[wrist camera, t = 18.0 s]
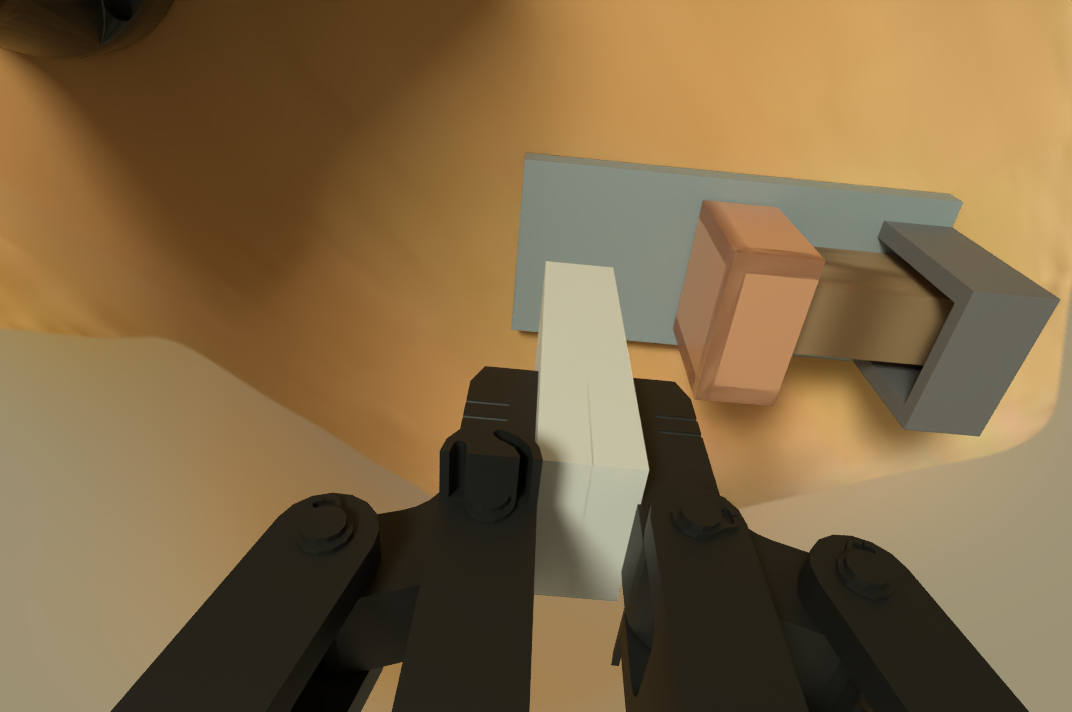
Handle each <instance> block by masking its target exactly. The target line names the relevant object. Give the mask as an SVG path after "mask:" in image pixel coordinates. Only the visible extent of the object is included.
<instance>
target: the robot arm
mask: <svg viewBox="0 0 1072 712" xmlns="http://www.w3.org/2000/svg"><path fill="white" fill-rule="evenodd" d="M172 2H173V0H0V48H4V49H8V50H11V51H15V52H18V53H22V54H26V55H31V56H37V57H44V58H60V59H67V58H80V57H86V56H92V55H97V54H102V53H107V52H112V51H116V50H119V49H122V48H124V47H127V46H129V45H131V44H133V43H135V42H137V41H138V40H140V39H141V38H143V37H144V36H146V35H147V34H148V33H149V32H150V31H151V30H153V29H154V28H155V27H156V25H157V24H158V23H159V22H160V21H161V20H162V18H163V17H164V16H165V14H166V13H167V11H168V10H169V8H170V6H171V4H172ZM621 583H622V586H623V595H624V605H625V608H624V612H623V616H622V619H621V623H620V627H619V631H618V635H617V639H616V643H615V647H614V651H613V658H612V664H611V665H615V666H619V663H620V659H621V660H622V671H623V682H624V694H625V706H626V712H1029V711H1028V710H1027V709H1026V708H1025V706H1024V705H1023V704H1022V703H1021V702H1020V700H1019V699H1018V698H1017V697H1016V696H1015V695H1014V694H1013V692H1012V691H1011V690H1010V689H1009V687H1008V686H1007V685H1006V684H1005V683H1004V682H1003V681H1002V679H1001V678H1000V677H999V676H998V675H997V673H996V672H995V671H994V670H993V669H992V668H991V666H990V665H989V664H988V663H987V662H986V660H985V659H984V658H983V657H982V656H981V654H980V653H979V652H978V651H977V650H976V649H975V647H974V646H973V645H972V644H971V643H970V642H969V640H968V639H967V638H966V637H965V636H964V635H963V633H962V632H961V631H960V630H959V629H958V627H956V625H955V624H954V623H953V621H952V620H951V619H950V618H949V617H948V616H947V615H946V613H945V612H944V611H943V610H942V609H941V607H940V606H939V605H938V604H937V603H936V601H935V600H934V599H933V598H932V597H931V596H930V594H929V593H928V592H927V591H926V590H925V588H924V587H923V586H922V585H921V584H920V583H919V581H918V580H917V579H916V578H915V577H914V576H913V574H912V573H911V572H910V571H909V570H908V569H907V568H906V567H905V566H904V565H903V564H902V563H901V562H900V561H899V560H898V559H897V558H895V557H894V556H893V555H892V554H891V553H889V552H887V551H886V550H884V549H882V548H881V547H879V546H877V545H875V544H874V543H872V542H869V541H866V540H863V539H860V538H856V537H854V536H845V535H831V536H828V537H825V538H822V539H819V540H818V541H817V542H816V544H815V545H814V546H813V547H812V549H811V550H810V552H809V553H808V552H805V551H802V550H799V549H796V548H793V547H790V546H787V545H784V544H781V543H778V542H775V541H772V540H770V539H768V538H765V537H763V536H761V535H758V534H756V533H755V532H753V531H751V530H750V529H748V526H747V524H746V522H745V520H744V519H743V517H742V515H741V513H740V512H739V510H738V509H737V508H736V507H735V506H733V505H732V504H731V503H730V502H729V501H728V500H727V499H725V498H724V497H722V496H720V494H719V491H718V488H717V484H716V481H715V478H714V475H713V471H712V468H711V465H710V461H709V458H708V455H707V451H706V448H705V445H704V441H703V438H701V432H700V428H699V425H698V422H696V415H695V412H694V408H693V405H692V402H691V399H690V398H689V397H688V396H687V395H686V394H685V392H684V391H683V390H682V389H681V388H680V387H679V386H678V385H677V384H676V383H675V382H671V381H660V380H650V379H639V378H633V376H632V370H631V365H630V359H629V353H628V348H627V342H626V337H625V331H624V325H623V320H622V314H621V308H620V303H619V297H618V292H617V286H616V280H615V275H614V269H613V267H602V266H592V265H581V264H571V263H560V262H550V261H546V264H545V274H544V283H543V293H542V303H541V312H540V322H539V331H538V341H537V351H536V360H535V371H531V370H520V369H509V368H498V367H487V366H485V367H484V368H483V369H482V370H481V371H480V372H479V373H478V374H477V375H476V376H475V377H474V378H473V379H472V380H471V381H470V386H469V391H468V395H467V401H466V405H465V409H464V414H463V419H462V423H461V428H460V430H458V431H457V432H455V433H454V434H452V435H451V436H450V437H448V438H447V439H446V441H445V443H444V444H443V446H442V448H441V450H440V486H439V493H438V494H437V495H436V496H434V497H433V498H432V499H431V500H429V501H427V502H425V503H423V504H420V505H419V506H416V507H412V508H409V509H405V510H401V511H395V512H388V513H383V514H376V512H375V511H374V510H373V509H372V507H371V506H370V505H369V504H368V503H367V502H365V501H363V500H361V499H359V498H357V497H355V496H353V495H346V494H338V493H329V494H322V495H316V496H311V497H309V498H307V499H305V500H302V501H300V502H298V503H296V504H293V505H292V506H291V507H290V508H288V509H287V510H286V511H285V512H284V513H283V514H281V515H280V516H279V517H278V518H277V519H276V520H275V521H274V522H273V524H272V525H271V526H270V527H269V528H268V529H267V531H266V532H265V533H264V534H263V535H262V536H261V538H260V539H259V540H258V541H257V542H256V544H254V546H253V547H252V548H251V549H250V550H249V552H248V553H247V554H246V555H245V556H244V557H243V558H242V560H241V561H240V562H239V563H238V564H237V565H236V567H235V568H234V569H233V570H232V571H231V572H230V574H229V575H228V576H227V577H226V578H225V579H224V581H223V582H222V583H221V584H220V585H219V586H218V588H217V589H216V590H215V591H214V592H213V593H212V595H211V596H210V597H209V598H208V599H207V600H206V601H205V603H204V604H203V605H202V606H201V607H200V608H199V610H198V611H197V612H196V613H195V614H194V615H193V616H192V618H191V619H190V620H189V621H188V622H187V623H186V625H185V626H184V627H183V628H182V629H181V630H180V632H179V633H178V634H177V635H176V636H175V638H174V639H173V640H172V641H171V642H170V643H169V644H168V645H167V647H166V648H165V649H164V650H163V651H162V653H161V654H160V655H159V656H158V657H157V658H156V659H155V661H154V662H153V663H152V664H151V665H150V666H149V668H148V669H147V670H146V671H145V672H144V673H143V675H142V676H141V677H140V678H139V679H138V680H137V681H136V683H135V684H134V685H133V686H132V687H131V688H130V690H129V691H128V692H127V693H126V694H125V696H124V697H123V698H122V699H121V700H120V701H119V702H118V704H117V705H116V706H115V707H114V708H113V709H112V711H111V712H361V710H362V708H363V706H364V704H365V703H366V701H367V699H368V697H369V695H370V693H371V691H372V689H373V687H374V685H375V683H376V681H377V679H378V677H379V675H380V674H381V672H382V669H383V666H387V665H392V664H396V663H400V662H403V664H402V668H401V673H400V677H399V682H398V686H397V691H396V695H395V700H394V704H393V708H392V712H529V706H530V679H531V654H532V653H531V652H532V627H533V601H534V594H536V595H547V596H560V597H571V598H583V599H594V600H607V601H617V599H618V595H619V591H620V587H621Z"/></svg>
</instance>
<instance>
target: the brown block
mask: <svg viewBox="0 0 1072 712" xmlns="http://www.w3.org/2000/svg"><path fill="white" fill-rule="evenodd" d="M814 248H815V249H816V250H817V251H818V253H819V254H820V255H821V256H822V257H823V258H824V259H825V260H826V262H825V265H824V267H823V270H822V273H821V276H820V278H819V281H818V284H817V287H816V290H815V292H814V295H813V298H812V301H811V304H810V306H809V309H808V312H807V315H806V318H805V320H804V323H803V326H802V329H801V332H800V334H799V337H798V340H797V343H796V346H795V348H794V351H793V354H804V355H815V356H826V357H837V358H848V359H859V360H870V361H881V362H892V363H903V364H915V365H924V364H925V362H926V360H927V358H928V356H929V354H930V352H931V350H932V348H933V346H934V344H935V342H936V340H937V338H938V336H939V334H940V332H941V330H942V328H943V326H944V324H945V322H946V320H947V318H948V316H949V314H950V312H951V310H952V308H953V306H954V304H955V303H954V302H953V301H952V300H951V299H950V298H949V297H947V296H946V295H945V294H944V293H943V292H941V291H940V290H939V289H938V288H937V287H936V286H934V285H933V284H932V283H931V282H930V281H929V280H927V279H926V278H925V277H924V276H923V275H921V274H920V273H919V272H918V271H917V270H916V269H914V268H913V267H912V266H911V265H910V264H909V263H907V262H906V261H905V260H904V259H903V258H902V257H900V256H899V255H898V254H888V253H877V252H867V251H856V250H845V249H834V248H824V247H814Z"/></svg>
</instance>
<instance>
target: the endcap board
mask: <svg viewBox="0 0 1072 712" xmlns="http://www.w3.org/2000/svg"><path fill="white" fill-rule="evenodd" d="M703 200H709V201H719V202H729V203H740V204H750V205H760V206H771V207H778V208H779V209H780V211H781V212H782V213H783V214H784V215H785V216H786V217H787V218H788V219H789V221H790V222H791V223H792V224H793V225H794V226H795V227H796V228H797V229H798V230H799V232H800V233H801V234H802V235H803V236H804V237H805V238H806V239H807V240H808V242H809V243H810V244H811V245H812V246H813V247H824V248H834V249H845V250H856V251H867V252H877V253H888V254H898V255H899V256H900V257H902V258H903V259H904V260H905V261H906V262H907V263H909V264H910V265H911V266H912V267H913V268H914V269H916V270H917V271H918V272H919V273H920V274H921V275H923V276H924V277H925V278H926V279H927V280H929V281H930V282H931V283H932V284H933V285H934V286H936V287H937V288H938V289H939V290H940V291H941V292H943V293H944V294H945V295H946V296H947V297H949V298H950V299H951V300H952V301H953V302H954V303H955V304H954V306H953V308H952V310H951V312H950V314H949V316H948V318H947V320H946V322H945V324H944V326H943V328H942V330H941V332H940V334H939V336H938V338H937V340H936V342H935V344H934V346H933V348H932V350H931V352H930V354H929V356H928V358H927V360H926V362H925V364H924V365H915V364H903V363H892V362H881V361H870V360H859V359H848V358H837V357H826V356H815V355H804V354H792V356H803V357H813V358H824V359H835V360H846V361H853V362H854V363H855V364H856V366H857V367H858V368H859V370H860V371H861V372H862V374H863V375H864V377H865V378H866V379H867V381H868V382H869V383H870V385H871V386H872V387H873V389H874V390H875V391H876V393H877V394H878V395H879V397H880V398H881V399H882V401H883V402H884V403H885V405H886V406H887V407H888V409H889V410H890V411H891V413H892V414H893V415H894V417H895V418H896V420H897V421H898V422H899V424H900V425H901V426H902V428H903V429H904V430H914V431H925V432H936V433H948V434H959V435H970V436H980V435H981V433H982V431H983V430H984V428H985V426H986V425H987V423H988V421H989V419H990V418H991V416H992V414H993V413H994V411H995V409H996V408H997V406H998V404H999V403H1000V401H1001V399H1002V398H1003V396H1004V394H1005V392H1006V391H1007V389H1008V387H1009V386H1010V384H1011V382H1012V381H1013V379H1014V377H1015V376H1016V374H1017V372H1018V370H1019V369H1020V367H1021V365H1022V364H1023V362H1024V360H1025V359H1026V357H1027V355H1028V354H1029V352H1030V350H1031V349H1032V347H1033V345H1034V343H1035V342H1036V340H1037V338H1038V337H1039V335H1040V333H1041V332H1042V330H1043V328H1044V327H1045V325H1046V323H1047V322H1048V320H1049V318H1050V316H1051V315H1052V313H1053V311H1054V310H1055V308H1056V306H1057V305H1058V303H1059V301H1060V300H1061V299H1059V298H1058V297H1056V296H1055V295H1053V294H1052V293H1050V292H1049V291H1047V290H1045V289H1044V288H1042V287H1041V286H1039V285H1038V284H1036V283H1035V282H1033V281H1032V280H1030V279H1029V278H1027V277H1026V276H1024V275H1023V274H1021V273H1020V272H1018V271H1017V270H1015V269H1014V268H1012V267H1011V266H1009V265H1008V264H1006V263H1005V262H1003V261H1002V260H1000V259H999V258H997V257H996V256H994V255H993V254H991V253H990V252H988V251H987V250H985V249H984V248H982V247H981V246H979V245H978V244H976V243H975V242H973V241H972V240H970V239H969V238H967V237H966V236H964V235H963V234H961V233H960V232H958V231H957V230H955V229H954V228H952V226H953V224H954V222H955V219H956V217H957V215H958V213H959V211H960V208H961V206H962V204H963V202H962V201H961V200H959V199H957V198H956V197H954V196H952V195H950V194H945V193H934V192H924V191H914V190H904V189H893V188H883V187H873V186H863V185H853V184H842V183H832V182H822V181H812V180H801V179H791V178H781V177H771V176H760V175H750V174H740V173H730V172H719V171H709V170H699V169H689V168H678V167H668V166H658V165H648V164H637V163H627V162H617V161H607V160H596V159H586V158H576V157H566V156H555V155H545V154H535V153H526V155H525V162H524V175H523V188H522V201H521V214H520V227H519V240H518V253H517V266H516V279H515V292H514V305H513V318H512V330H521V331H531V332H538V331H539V322H540V312H541V303H542V293H543V283H544V274H545V264H546V261H550V262H560V263H571V264H581V265H592V266H602V267H613V269H614V275H615V280H616V286H617V292H618V297H619V303H620V308H621V314H622V320H623V325H624V331H625V337H626V340H629V341H640V342H651V343H662V344H672V345H678V344H677V341H676V338H675V334H674V331H673V326H674V322H675V318H676V313H677V309H678V305H679V300H680V296H681V292H682V288H683V283H684V279H685V275H686V270H687V266H688V262H689V258H690V253H691V249H692V245H693V240H694V236H695V232H696V228H697V223H698V219H699V215H700V210H701V206H702V202H703Z"/></svg>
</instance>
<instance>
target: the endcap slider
mask: <svg viewBox="0 0 1072 712" xmlns="http://www.w3.org/2000/svg"><path fill="white" fill-rule="evenodd" d="M825 262H826V260H825V259H824V258H823V257H822V256H821V255H820V254H819V253H818V251H817V250H816V249H815V248H814V247H813V246H812V245H811V244H810V243H809V242H808V240H807V239H806V238H805V237H804V236H803V235H802V234H801V233H800V232H799V230H798V229H797V228H796V227H795V226H794V225H793V224H792V223H791V222H790V221H789V219H788V218H787V217H786V216H785V215H784V214H783V213H782V212H781V211H780V209H779V208H778V207H771V206H760V205H750V204H740V203H729V202H719V201H709V200H703V202H702V206H701V210H700V215H699V219H698V223H697V228H696V232H695V236H694V240H693V245H692V249H691V253H690V258H689V262H688V266H687V270H686V275H685V279H684V283H683V288H682V292H681V296H680V300H679V305H678V309H677V313H676V318H675V322H674V326H673V331H674V334H675V338H676V341H677V344H678V347H679V351H680V354H681V357H682V360H683V363H684V367H685V370H686V373H687V376H688V379H689V383H690V386H691V389H692V392H693V395H694V399H697V400H708V401H719V402H730V403H741V404H752V405H763V406H774V404H775V401H776V399H777V396H778V393H779V390H780V387H781V385H782V382H783V379H784V376H785V373H786V371H787V368H788V365H789V362H790V359H791V357H792V354H793V351H794V348H795V346H796V343H797V340H798V337H799V334H800V332H801V329H802V326H803V323H804V320H805V318H806V315H807V312H808V309H809V306H810V304H811V301H812V298H813V295H814V292H815V290H816V287H817V284H818V281H819V278H820V276H821V273H822V270H823V267H824V265H825Z"/></svg>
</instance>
